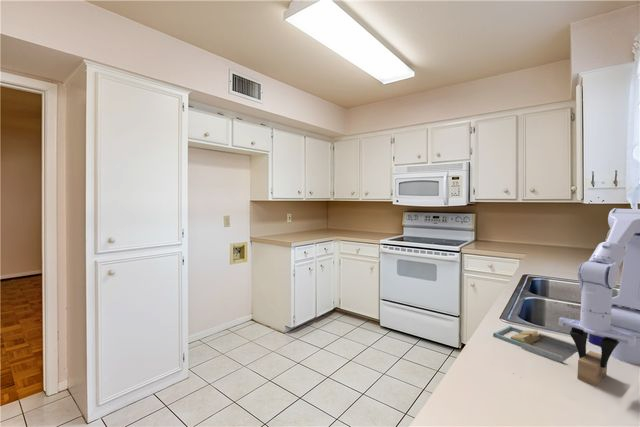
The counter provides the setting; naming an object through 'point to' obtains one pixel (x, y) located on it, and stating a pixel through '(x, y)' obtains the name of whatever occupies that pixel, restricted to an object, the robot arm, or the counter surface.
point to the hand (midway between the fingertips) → (592, 362)
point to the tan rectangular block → (591, 368)
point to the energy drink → (595, 339)
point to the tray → (498, 335)
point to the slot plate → (551, 348)
